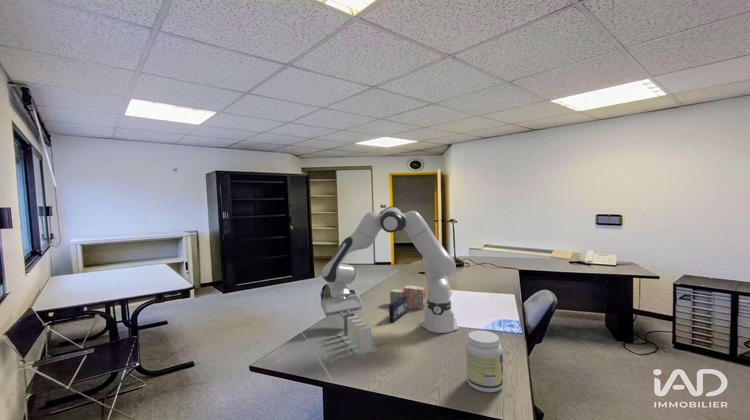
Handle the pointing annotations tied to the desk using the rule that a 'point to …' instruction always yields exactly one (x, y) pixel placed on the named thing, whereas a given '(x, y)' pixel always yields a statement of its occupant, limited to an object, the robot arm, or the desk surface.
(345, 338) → the mat
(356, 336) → the domino
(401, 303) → the vhs cassette tape
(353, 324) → the domino
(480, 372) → the supplement tub
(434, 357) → the desk surface
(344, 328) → the domino
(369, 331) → the domino
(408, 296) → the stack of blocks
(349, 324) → the domino
